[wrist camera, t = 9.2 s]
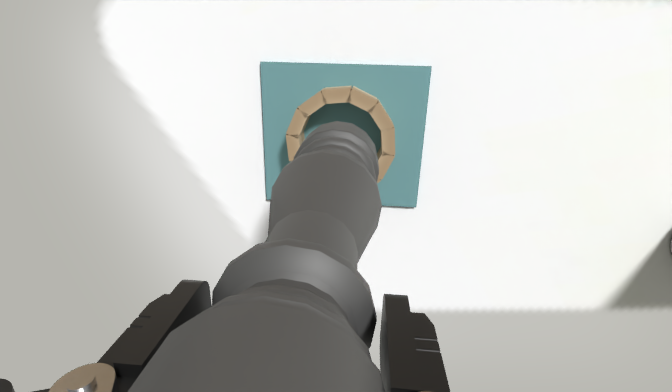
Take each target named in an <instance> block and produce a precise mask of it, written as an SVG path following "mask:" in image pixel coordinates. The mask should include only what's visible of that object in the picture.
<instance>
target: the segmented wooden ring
mask: <svg viewBox="0 0 672 392" xmlns="http://www.w3.org/2000/svg"><path fill="white" fill-rule="evenodd" d="M345 102H349V103H351V104H353V105H355V106H357V107H359V108H361V109H363V110H365V111H367V112H369V113H370V115H371V116H372V118H373V119H374V121H375V122H376V124H377V126H378V127H379V129H380V133H381V147H380V149H379V151H378V153H377V157H378V164H379V175H378V180H377V183H379V182H380V181H381V179H383V177H384V176H385V174H386V172H387V170H388V168H389V167H390V165H391V163H392V161H393V159H394V157H395V128H394V125H393V122H392V120H391V118H390V117H389V115H388V114H387V112H386V110H385V109H384V107H383V106H382V104H381V103H380V101H379V99H377V97H375V96H373V95H371V94H369V93H367V92H365V91H363V90H361V89H359V88H357V87H355V86H353V88H352V86H339V87H326V88H323V89H322V90H321V91H319V92H318V93H316V94H315V95H314V96H312V97H311V98H309V99H308V100H307V101H305V102H304V103H303V104H301V105H300V106H298V108H297V109H296V111H295V113H294V115H293V118H292V120H291V123H290V125H289V127H288V130H287V132H286V142H287V149H288V157H289V161H293V160H294V156H295V154H296V152H297V151H298V149H299V147H300V146H301V144H302V142H303V141H304V140H305V136H304V129H305V127H306V125H307V123H308V120H309V118H310V116H311V114H312V113H314V112H315V111H316V110H318V109H319V108H321V107H322V106H324V105H325V104H331V103H345Z"/></svg>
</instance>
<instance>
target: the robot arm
mask: <svg viewBox="0 0 672 392" xmlns="http://www.w3.org/2000/svg"><path fill="white" fill-rule="evenodd" d="M671 253H672V240H671ZM210 307H211V297H210V289H209V284H208V282H207V281H196V280H182V281H181V282H180V283H179V284H178V285H177V286H176V288H175V289H174V290H173V291H172V292H171V294H164V295H162V296H161V297H159V298H157V299H156V300H154V301H153V302H151V303H149V305H148V306H147V307H146V308H145V309H144V310H143V311H142V312H141V313H140V315H139V317H138V318H136V319H135V320H134V321H133V323H132V324H131V325H130V328H127V329H126V331H125V332H124V333H123V334H122V335H121V336H120V337H119V338H118V339H117V340H116V342H115V343H114V344H113V345H112V346H111V347H110V348H109V350H108V351H107V352H106V353H105V354H104V355H103V356H102V357H101V359H100V360H99V361H98V362H97V363H92V364H87V365H83V366H81V367H78V368H76V369H74V370H72V371H70V372H68V373H67V374H65V375H64V376H62V377H61V378H60V379H59V380H57V381H56V382H55V383H54V385H53V386H52V387H51V388H50V389H45V390H39V391H34V392H128V390H129V389H130V387H131V386H132V385H133V383H134V382H135V380H136V379H137V378H138V376H139V375H140V374H141V372H142V371H143V369H144V368H145V367H146V365H147V364H148V362H149V361H150V360H151V358H152V357H153V355H154V354H155V353H156V351H157V350H158V349H159V347H160V346H161V344H162V343H163V342H164V340H165V339H166V337H167V336H168V335H169V333H170V332H171V331H173V330H174V329H176V328H177V327H179V326H181V325H182V324H184V323H185V322H187V321H188V320H190V319H192V318H193V317H195V316H196V315H198V314H200V313H201V312H203V311H204V310H206V309H208V308H210ZM380 368H381V369H380V370H381V377H382V381H383V385H384V389H385V392H450V389H449V385H448V381H447V377H446V372H445V368H444V364H443V360H442V356H441V353H440V348H439V344H438V342H437V336H436V332H435V327H434V325H433V324H432V322H431V321H430V320H429V319H428V317H427V316H426V315H425V314H424V313H412V312H410V307H409V301H408V296H406V295H392V294H384V297H383V308H382V320H381V332H380ZM0 392H15V391H14V389H13V386H12V384H11V382H9V381H8V380H6V379H0Z"/></svg>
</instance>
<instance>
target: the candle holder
mask: <svg viewBox="0 0 672 392" xmlns="http://www.w3.org/2000/svg"><path fill="white" fill-rule="evenodd" d="M378 175H379V164H378V157H377V152H376V147H375V144H374V143H373V141H372V140H371V138H370V137H369V136H368V134H367V133H366V132H365V131H364V130H362V129H360V128H359V127H357V126H356V125H354V124H352V123H346V122H340V121H334V122H330V123H326V124H322V125H320V126H319V127H318V128H316V129H315V130H313V131H312V132H311V133H309V135H308V136H307V137H306V138H305V140H304V141H303V142H302V144H301V146H300V147H299V149H298V151H297V152H296V154H295V156H294V160H293V161H291V162H290V163H289V164H287V165H286V166H285V167H284V168H283V169H282V171H281V173H280V174H279V176H278V178H277V180H276V181H275V183H274V185H273V186H272V192H271V202H270V216H269V231H268V238H267V240H266V242H265V243H261V244H257V245H255V246H254V247H252V248H251V249H249V250H248V251H246V252H245V253H243V254H242V255H240V256H239V257H237V258H236V259H234V260H233V261H231V262H230V263H229V265H228V266H227V268H226V269H225V271H224V273H223V274H222V276H221V278H220V280H219V281H218V283H217V285H216V287H215V288H214V290H213V298H212V306H211V307H210V308H208V309H206V310H204V311H203V312H201V313H200V314H198V315H196V316H195V317H193V318H192V319H190V320H188V321H187V322H185V323H184V324H182V325H181V326H179V327H177V328H176V329H174V330H173V331H171V332H170V333H169V335H168V336H167V337H166V339H165V340H164V342H163V343H162V344H161V346H160V347H159V349H158V350H157V351H156V353H155V354H154V355H153V357H152V358H151V360H150V361H149V362H148V364H147V365H146V367H145V368H144V369H143V371H142V372H141V374H140V375H139V376H138V378H137V379H136V380H135V382H134V383H133V385H132V386H131V387H130V389H129V390H128V392H385V389H384V385H383V381H382V377H381V373H380V370H379V369H378V368H377V367H376V365H375V364H374V363H373V362H372V360H371V357H370V353H369V348H370V346H371V342H372V338H373V334H374V329H375V325H376V312H375V308H374V304H373V300H372V296H371V292H370V288H369V285H368V283H367V282H366V281H365V280H364V278H363V277H362V276H361V275H360V273H359V272H358V271H357V263H358V261H359V259H360V257H361V255H362V254H363V252H364V250H365V248H366V246H367V244H368V242H369V241H370V239H371V237H372V235H373V233H374V232H375V230H376V228H377V226H378V221H379V217H380V212H381V207H382V204H381V198H380V194H379V189H378V185H377V180H378Z"/></svg>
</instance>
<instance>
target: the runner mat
mask: <svg viewBox="0 0 672 392" xmlns="http://www.w3.org/2000/svg"><path fill="white" fill-rule="evenodd" d="M260 65H261V87H262V108H263V130H264V152H265V174H266V196H267V200H271V192H272V186H273V185H274V183H275V181H276V180H277V178H278V176H279V174H280V173H281V171H282V169H283V168H284V167H285V166H286V165H287V164H289V163H290V162H291V161H289V157H288V149H287V142H286V132H287V130H288V127H289V125H290V123H291V120H292V118H293V115H294V113H295V111H296V109H297V108H298V106H300V105H301V104H303V103H304V102H305V101H307V100H308V99H309V98H311V97H312V96H314V95H315V94H316V93H318V92H319V91H321V90H322V89H323V88H326V87H339V86H352V88H353V86H355V87H357V88H359V89H361V90H363V91H365V92H367V93H369V94H371V95H373V96H375V97H377V99H379V101H380V103H381V104H382V106H383V107H384V109H385V110H386V112H387V114H388V115H389V117H390V118H391V120H392V122H393V125H394V128H395V157H394V159H393V161H392V163H391V165H390V167H389V168H388V170H387V172H386V174H385V176H384V177H383V179H381V181H380V182H379V183H377V185H378V189H379V194H380V198H381V204H382V205H383V206H403V207H416V204H417V195H418V186H419V177H420V167H421V158H422V149H423V140H424V131H425V122H426V113H427V103H428V94H429V85H430V76H431V67H432V66H399V65H362V64H325V63H289V62H260ZM334 121H340V122H346V123H352V124H354V125H356V126H357V127H359V128H360V129H362V130H364V131H365V132H366V133H367V134H368V136H369V137H370V138H371V140H372V141H373V143H374V144H375V147H376V152H377V153H378V151H379V149H380V147H381V133H380V129H379V127H378V126H377V124H376V122H375V121H374V119H373V118H372V116H371V115H370V113H369V112H367V111H365V110H363V109H361V108H359V107H357V106H355V105H353V104H351V103H349V102H345V103H331V104H325V105H324V106H322V107H321V108H319V109H318V110H316V111H315V112H314V113H312V114H311V116H310V118H309V120H308V123H307V125H306V127H305V129H304V136H305V138H306V137H307V136H308V135H309V133H311V132H312V131H313V130H315V129H316V128H318V127H319V126H320V125H322V124H326V123H330V122H334Z"/></svg>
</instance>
